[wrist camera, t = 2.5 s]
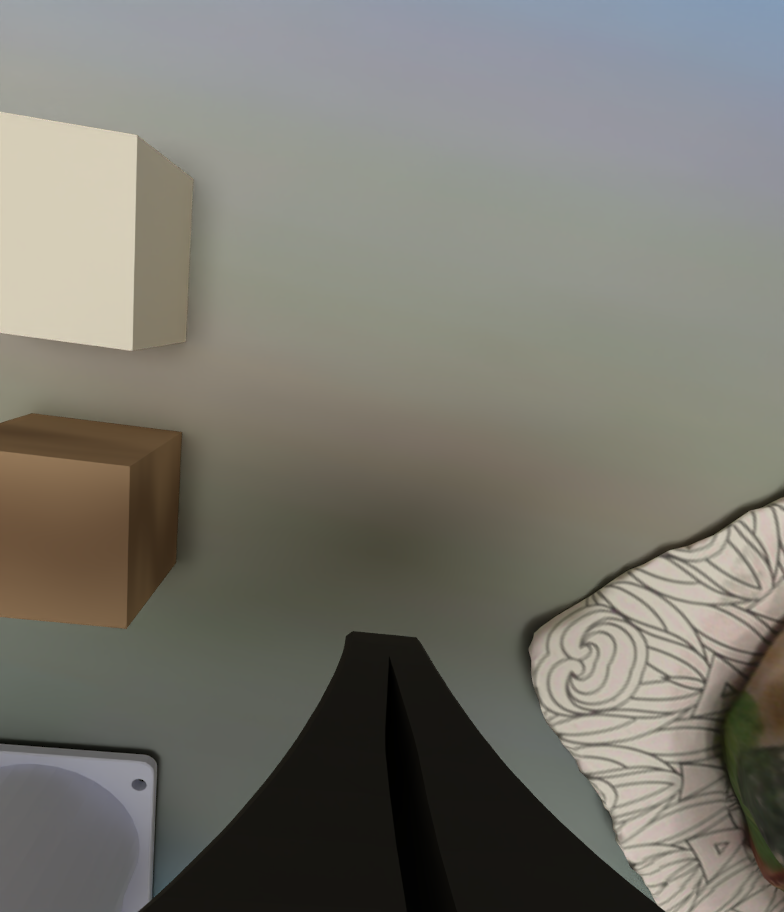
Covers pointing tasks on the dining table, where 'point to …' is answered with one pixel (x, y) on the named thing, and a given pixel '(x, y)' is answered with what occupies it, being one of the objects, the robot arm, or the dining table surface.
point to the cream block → (91, 236)
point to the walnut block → (85, 518)
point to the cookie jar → (683, 713)
